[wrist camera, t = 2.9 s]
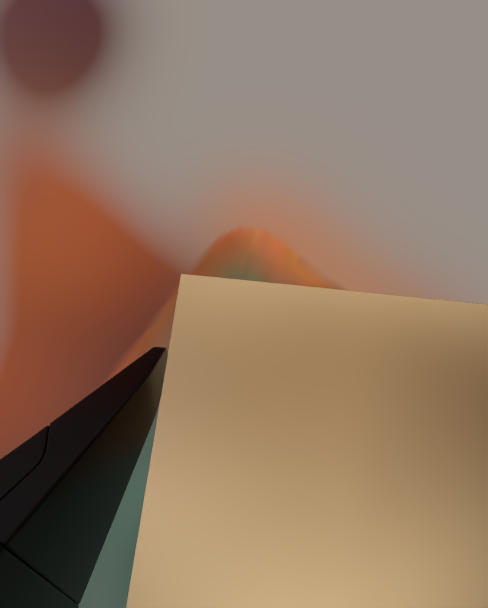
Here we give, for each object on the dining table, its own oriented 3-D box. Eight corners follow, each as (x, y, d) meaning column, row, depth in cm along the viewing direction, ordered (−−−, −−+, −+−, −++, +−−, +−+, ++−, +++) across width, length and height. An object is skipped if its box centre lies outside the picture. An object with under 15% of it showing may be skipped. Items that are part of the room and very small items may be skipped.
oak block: (296, 437, 14) (645, 838, 2) (211, 430, 14) (91, 817, 2) (298, 351, 15) (526, 308, 3) (220, 344, 15) (181, 273, 3)
